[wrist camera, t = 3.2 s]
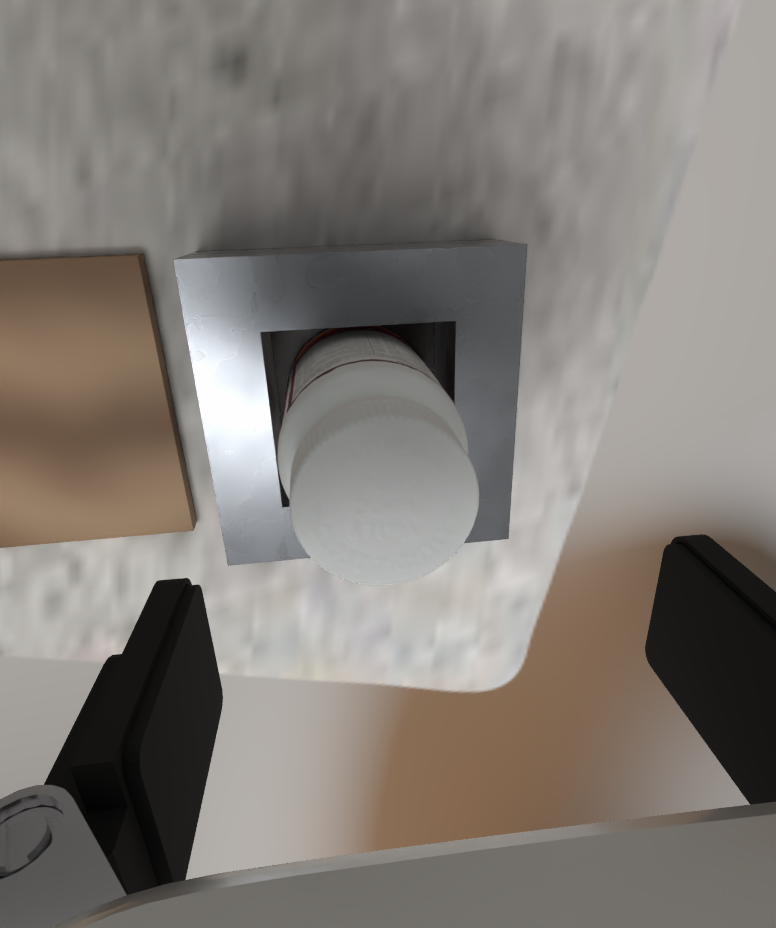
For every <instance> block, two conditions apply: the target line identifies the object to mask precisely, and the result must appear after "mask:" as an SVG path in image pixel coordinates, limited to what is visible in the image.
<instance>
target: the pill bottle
mask: <svg viewBox="0 0 776 928" xmlns="http://www.w3.org/2000/svg"><path fill="white" fill-rule="evenodd" d="M277 458H278V470H279V475H280V479H281V482H282V485H283V488H284V490H285V492H286V495H287V496H288V498H289V506H290V517H291V522H292V526H293V529H294V531H295V534H296V536H297V538H298V541H299V542H300V544H301V545H302V547H303V549H304V550H305V551H306V553H307V554H308V555H309V556H310V557H311V558H312V559H313V560H314V561H315V562H316V563H317V564H318V565H319V566H321V567H322V568H323V569H325V570H326V571H328V572H330V573H332V574H333V575H335V576H337V577H339V578H341V579H344V580H347V581H350V582H354V583H357V584H363V585H370V586H384V585H395V584H401V583H405V582H409V581H412V580H415V579H418V578H420V577H423V576H425V575H427V574H429V573H431V572H432V571H434V570H436V569H437V568H439V567H440V566H442V565H443V564H444V563H446V562H447V561H448V560H449V559H450V558H451V557H452V556H453V555H454V554H455V553H456V552H457V551H458V550H459V549H460V547H461V546H462V545H463V543H464V542H465V540H466V539H467V537H468V535H469V534H470V532H471V530H472V528H473V525H474V522H475V519H476V516H477V512H478V507H479V486H478V480H477V475H476V472H475V469H474V466H473V464H472V462H471V460H470V458H469V456H468V442H467V435H466V431H465V427H464V424H463V421H462V419H461V417H460V415H459V412H458V410H457V408H456V407H455V405H454V403H453V402H452V400H451V398H450V397H449V396H448V394H447V393H446V392H445V390H444V389H443V388H442V386H441V385H440V383H439V382H438V380H437V379H436V378H435V376H434V375H433V374H432V372H431V371H430V370H429V369H428V367H427V366H426V365H425V363H424V362H423V361H422V360H421V359H420V357H419V356H418V355H417V353H416V352H415V351H414V350H413V349H412V348H411V347H410V345H409V344H408V343H407V342H406V341H405V340H403V339H402V338H401V337H400V336H398V335H397V334H395V333H394V332H392V331H390V330H388V329H386V328H383V327H381V326H377V325H376V326H358V327H341V328H330V329H327V330H325V331H323V332H321V333H320V334H318V335H317V336H315V337H314V338H313V339H312V340H311V341H309V342H308V343H307V344H306V345H305V347H304V348H303V349H302V350H301V352H300V353H299V355H298V356H297V358H296V360H295V362H294V364H293V366H292V369H291V371H290V375H289V379H288V384H287V390H286V398H285V406H284V413H283V419H282V426H281V429H280V433H279V439H278V454H277Z"/></svg>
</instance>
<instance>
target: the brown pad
mask: <svg viewBox="0 0 776 928" xmlns="http://www.w3.org/2000/svg"><path fill="white" fill-rule="evenodd" d="M196 522H197V521H196V516H195V511H194V506H193V501H192V496H191V491H190V486H189V481H188V476H187V471H186V466H185V461H184V456H183V451H182V446H181V441H180V436H179V431H178V426H177V421H176V416H175V411H174V406H173V401H172V396H171V391H170V386H169V381H168V376H167V371H166V366H165V361H164V356H163V351H162V346H161V341H160V336H159V331H158V326H157V321H156V315H155V310H154V305H153V300H152V295H151V290H150V285H149V280H148V275H147V270H146V265H145V260H144V255H143V254H132V255H108V256H84V257H61V258H37V259H13V260H0V548H4V547H15V546H26V545H37V544H48V543H60V542H71V541H82V540H93V539H105V538H116V537H127V536H138V535H149V534H161V533H172V532H183V531H193V530H194V528H195V525H196Z"/></svg>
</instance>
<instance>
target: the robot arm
mask: <svg viewBox="0 0 776 928" xmlns="http://www.w3.org/2000/svg"><path fill="white" fill-rule="evenodd" d="M645 652H646V657H647V660H648V663H649V664H650V666H651V667H652V669H653V670H654V672H655V673H656V674H657V676H658V677H659V679H660V680H661V681H662V683H663V684H664V686H665V687H666V688H667V690H668V691H669V692H670V694H671V695H672V696H673V698H674V699H675V701H676V702H677V704H678V705H679V706H680V708H681V709H682V711H683V712H684V713H685V715H686V716H687V717H688V719H689V720H690V721H691V723H692V724H693V726H694V727H695V729H696V730H697V731H698V733H699V734H700V735H701V737H702V738H703V740H704V741H705V742H706V744H707V745H708V747H709V748H710V749H711V751H712V752H713V754H714V755H715V756H716V758H717V759H718V760H719V762H720V763H721V765H722V766H723V767H724V769H725V770H726V771H727V773H728V774H729V776H730V777H731V778H732V780H733V781H734V783H735V784H736V785H737V787H738V788H739V790H740V791H741V792H742V794H743V795H744V796H745V798H746V799H747V801H748V802H749V803H750V805H744V806H735V807H727V808H718V809H711V810H701V811H693V812H685V813H676V814H668V815H659V816H651V817H643V818H634V819H626V820H618V821H610V822H602V823H593V824H586V825H578V826H569V827H561V828H553V829H546V830H537V831H529V832H521V833H513V834H505V835H498V836H490V837H481V838H473V839H465V840H458V841H450V842H443V843H435V844H427V845H419V846H412V847H404V848H397V849H389V850H382V851H373V852H366V853H358V854H350V855H343V856H335V857H327V858H320V859H313V860H306V861H300V862H293V863H286V864H279V865H272V866H266V867H259V868H253V869H246V870H239V871H232V872H226V873H219V874H214V875H209V876H204V877H199V878H194V879H189V880H185V879H186V874H187V869H188V864H189V860H190V855H191V851H192V846H193V842H194V837H195V832H196V827H197V823H198V818H199V813H200V809H201V804H202V799H203V795H204V790H205V785H206V780H207V776H208V771H209V767H210V762H211V757H212V752H213V748H214V743H215V738H216V733H217V729H218V724H219V720H220V715H221V710H222V702H223V701H222V700H223V695H222V687H221V682H220V677H219V672H218V667H217V662H216V657H215V652H214V647H213V642H212V637H211V632H210V627H209V623H208V618H207V613H206V608H205V603H204V598H203V593H202V589H201V587H200V585H192V584H191V582H190V580H189V579H188V578H183V579H171V580H159V581H157V582H156V583H155V585H154V587H153V589H152V591H151V593H150V595H149V598H148V600H147V602H146V604H145V606H144V608H143V610H142V612H141V615H140V617H139V619H138V621H137V623H136V625H135V627H134V630H133V632H132V634H131V636H130V638H129V640H128V642H127V644H126V647H125V649H124V651H123V653H122V654H118V655H112V656H111V657H109V658H108V659H107V661H106V662H105V664H104V665H103V667H102V669H101V671H100V673H99V675H98V677H97V679H96V681H95V683H94V685H93V687H92V689H91V691H90V693H89V695H88V697H87V699H86V701H85V703H84V705H83V707H82V709H81V711H80V713H79V715H78V717H77V720H76V721H75V723H74V725H73V727H72V729H71V732H70V733H69V735H68V737H67V739H66V742H65V743H64V746H63V748H62V750H61V752H60V753H59V756H58V757H57V760H56V761H55V764H54V765H53V768H52V770H51V772H50V773H49V775H48V778H47V779H46V782H45V784H44V785H36V786H32V787H28V788H25V789H22V790H18V791H16V792H14V793H12V794H10V795H8V796H6V797H4V798H2V799H0V928H776V592H775V591H774V590H773V589H771V588H770V587H769V586H768V585H767V584H765V583H764V582H763V581H762V580H761V579H759V578H758V577H757V576H756V575H755V574H753V573H752V572H751V571H750V570H749V569H748V568H746V567H745V566H744V565H743V564H742V563H740V562H739V561H738V560H737V559H736V558H734V557H733V556H732V555H731V554H730V553H728V552H727V551H726V550H725V549H724V548H722V547H721V546H720V545H719V544H717V543H716V542H715V541H714V540H713V539H712V538H710V537H709V536H707V535H691V536H680V537H676V538H674V539H673V540H672V542H671V544H669V545H667V546H666V547H665V549H664V552H663V557H662V562H661V568H660V573H659V579H658V583H657V588H656V594H655V599H654V604H653V609H652V615H651V620H650V625H649V630H648V635H647V640H646V646H645Z"/></svg>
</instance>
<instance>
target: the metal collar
mask: <svg viewBox="0 0 776 928" xmlns="http://www.w3.org/2000/svg"><path fill="white" fill-rule="evenodd" d="M526 257H527V244H522V243H516V242H509V241H503V240H496V239H487V240H463V241H439V242H416V243H392V244H368V245H345V246H321V247H297V248H274V249H250V250H226V251H203V252H194V253H191V254H188V255H185V256H182V257H179V258H176V259H174V260H173V261H174V267H175V273H176V278H177V284H178V289H179V295H180V301H181V306H182V312H183V317H184V323H185V328H186V334H187V340H188V345H189V351H190V356H191V362H192V367H193V373H194V379H195V384H196V390H197V395H198V401H199V407H200V412H201V418H202V423H203V429H204V434H205V440H206V446H207V451H208V457H209V462H210V468H211V473H212V479H213V485H214V490H215V496H216V501H217V507H218V513H219V518H220V524H221V529H222V535H223V540H224V546H225V552H226V557H227V563H228V566H229V565H240V564H250V563H261V562H271V561H282V560H292V559H303V558H311V557H310V556H309V555H308V554H307V553H306V551H305V550H304V549H303V547H302V545H301V544H300V542H299V541H298V538H297V536H296V534H295V531H294V529H293V526H292V522H291V517H290V506H289V498H288V496H287V495H286V492H285V490H284V488H283V485H282V482H281V479H280V475H279V470H278V458H277V454H278V439H279V433H280V429H281V417H280V409H279V400H278V392H277V384H276V375H275V367H274V358H273V350H272V341H271V333H270V331H287V330H305V329H323V328H341V327H358V326H376V325H394V324H411V323H429V322H434V376H435V378H436V379H437V380H438V382H439V383H440V385H441V386H442V388H443V389H444V390H445V392H446V393H447V394H448V396H449V397H450V398H451V400H452V402H453V403H454V405H455V407H456V408H457V410H458V412H459V415H460V417H461V419H462V421H463V424H464V427H465V431H466V435H467V442H468V456H469V458H470V460H471V462H472V464H473V466H474V469H475V472H476V475H477V480H478V486H479V507H478V512H477V516H476V519H475V522H474V525H473V528H472V530H471V532H470V534H469V535H468V537H467V539H466V540H465V542H464V543H470V542H481V541H491V540H501V539H508V538H509V522H510V506H511V491H512V475H513V460H514V444H515V429H516V413H517V397H518V382H519V366H520V351H521V335H522V320H523V304H524V288H525V273H526Z"/></svg>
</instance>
